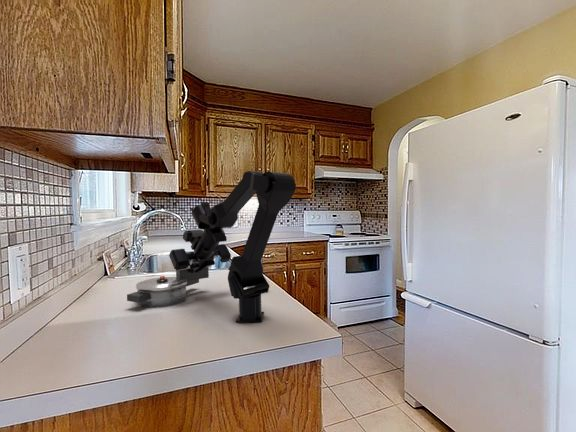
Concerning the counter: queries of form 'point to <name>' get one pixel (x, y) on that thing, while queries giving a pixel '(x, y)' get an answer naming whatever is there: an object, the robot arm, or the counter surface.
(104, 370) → the counter surface
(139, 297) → the grey round flat pan
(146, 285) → the lid
